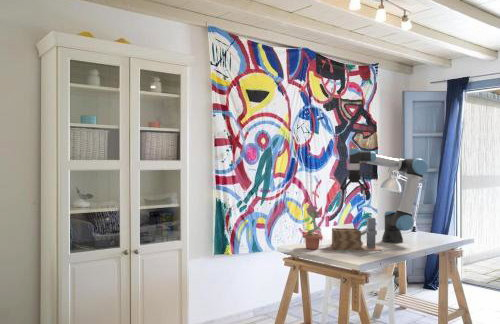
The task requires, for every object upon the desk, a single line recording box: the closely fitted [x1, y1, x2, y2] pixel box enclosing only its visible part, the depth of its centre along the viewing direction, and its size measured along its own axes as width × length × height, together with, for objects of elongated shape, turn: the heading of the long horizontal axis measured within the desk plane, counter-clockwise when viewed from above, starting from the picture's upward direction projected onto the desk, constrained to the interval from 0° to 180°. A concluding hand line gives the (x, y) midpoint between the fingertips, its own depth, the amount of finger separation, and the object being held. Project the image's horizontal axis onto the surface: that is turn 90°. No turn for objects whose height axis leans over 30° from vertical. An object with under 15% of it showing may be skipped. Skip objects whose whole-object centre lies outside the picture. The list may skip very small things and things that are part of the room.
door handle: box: [360, 229, 367, 246], centre depth 321 cm, size 18×8×20 cm
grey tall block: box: [365, 217, 378, 248], centre depth 301 cm, size 5×13×20 cm, turn 176°
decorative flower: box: [302, 205, 324, 250], centre depth 301 cm, size 15×14×30 cm
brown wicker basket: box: [330, 227, 363, 251], centre depth 302 cm, size 20×13×13 cm, turn 86°
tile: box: [361, 245, 383, 252], centre depth 301 cm, size 12×14×1 cm
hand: (354, 199), depth 312 cm, fingers open, 13 cm apart
